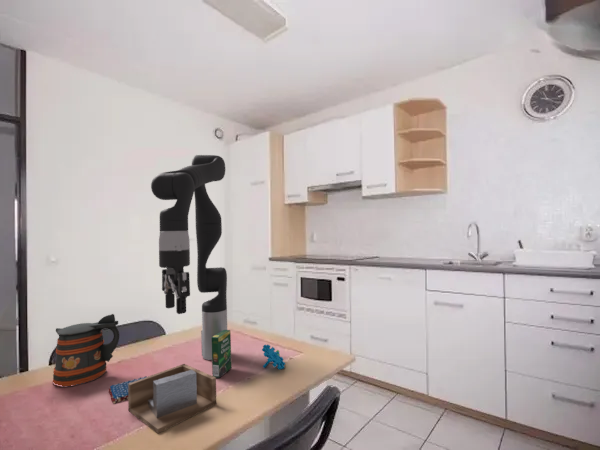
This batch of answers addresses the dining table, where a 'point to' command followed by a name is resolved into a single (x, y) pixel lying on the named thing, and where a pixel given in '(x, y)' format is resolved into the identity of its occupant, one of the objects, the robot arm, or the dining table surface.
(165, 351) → the dining table surface
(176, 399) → the bracket
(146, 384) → the corner arena
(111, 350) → the beer stein
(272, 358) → the gear
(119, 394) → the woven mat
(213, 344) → the coffee box
